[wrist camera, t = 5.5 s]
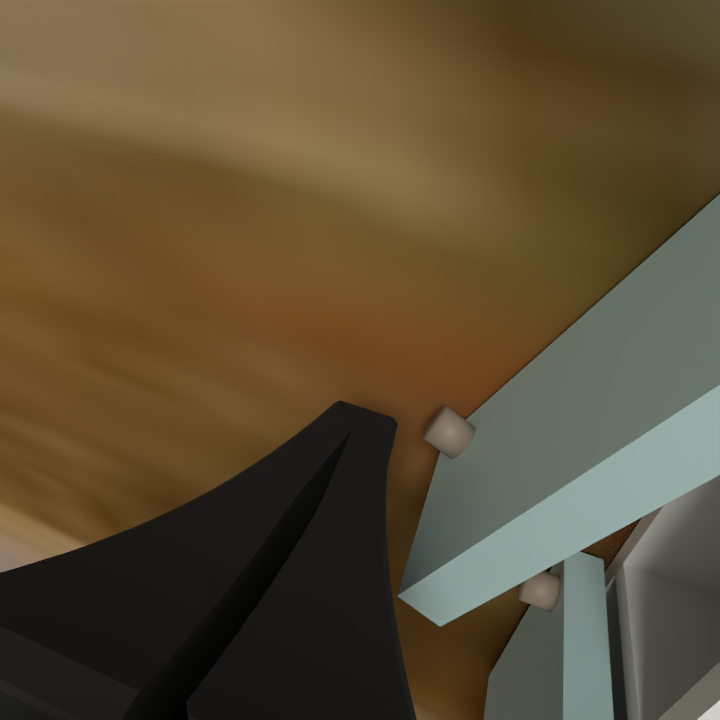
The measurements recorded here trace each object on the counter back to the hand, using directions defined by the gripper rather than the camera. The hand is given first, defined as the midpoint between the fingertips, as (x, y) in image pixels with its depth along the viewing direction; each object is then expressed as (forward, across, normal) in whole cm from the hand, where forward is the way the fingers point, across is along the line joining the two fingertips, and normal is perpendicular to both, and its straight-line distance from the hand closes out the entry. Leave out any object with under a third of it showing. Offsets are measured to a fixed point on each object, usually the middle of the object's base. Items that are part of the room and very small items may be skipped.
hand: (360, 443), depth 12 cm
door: (+2, -4, -4) cm, 6 cm away
